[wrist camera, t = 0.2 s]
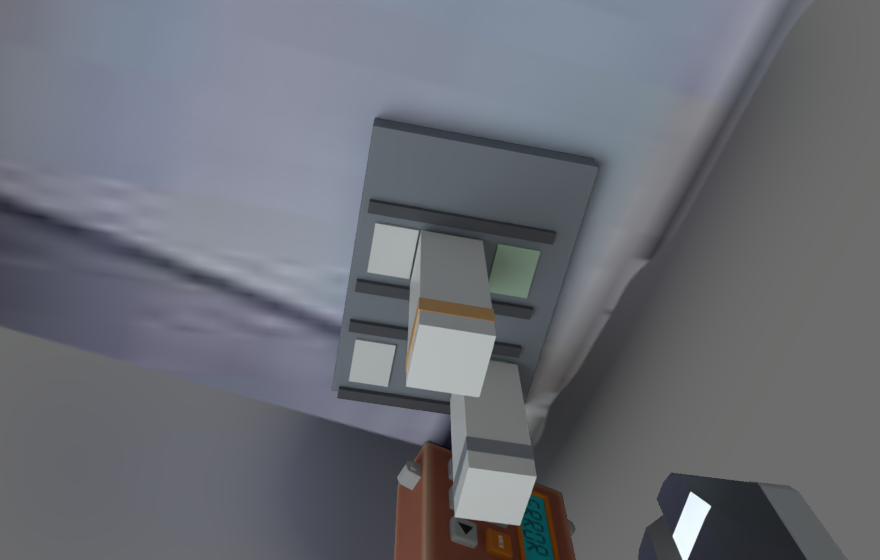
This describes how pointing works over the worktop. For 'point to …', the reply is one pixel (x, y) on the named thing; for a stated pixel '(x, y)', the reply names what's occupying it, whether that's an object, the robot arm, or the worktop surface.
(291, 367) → the worktop surface
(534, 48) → the worktop surface
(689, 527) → the robot arm
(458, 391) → the breaker toggle
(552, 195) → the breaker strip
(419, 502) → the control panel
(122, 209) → the worktop surface
